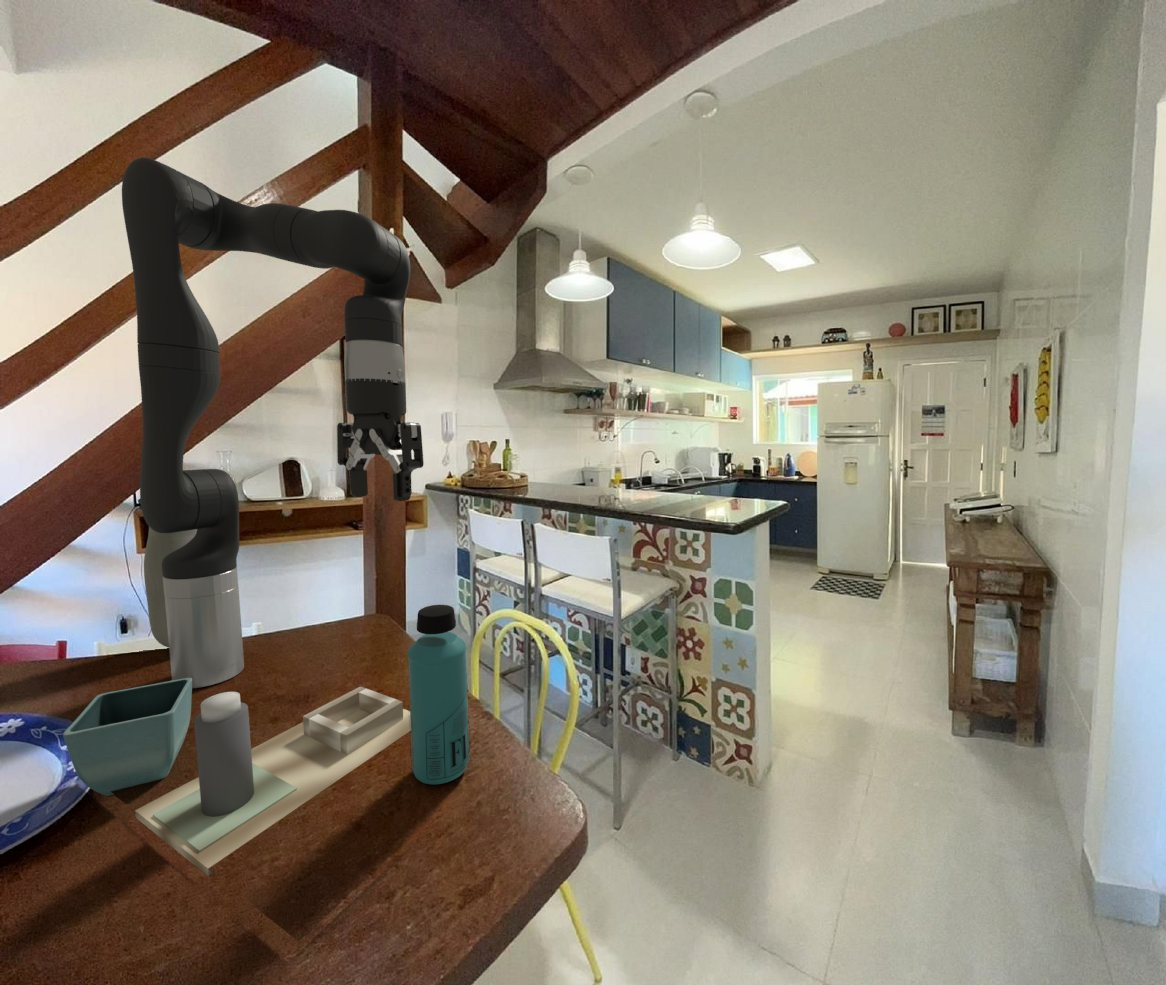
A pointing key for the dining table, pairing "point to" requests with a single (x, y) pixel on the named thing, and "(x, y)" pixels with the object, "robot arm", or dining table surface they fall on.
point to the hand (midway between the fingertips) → (380, 498)
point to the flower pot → (130, 735)
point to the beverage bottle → (438, 698)
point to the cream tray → (281, 776)
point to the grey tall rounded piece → (160, 577)
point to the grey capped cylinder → (224, 754)
